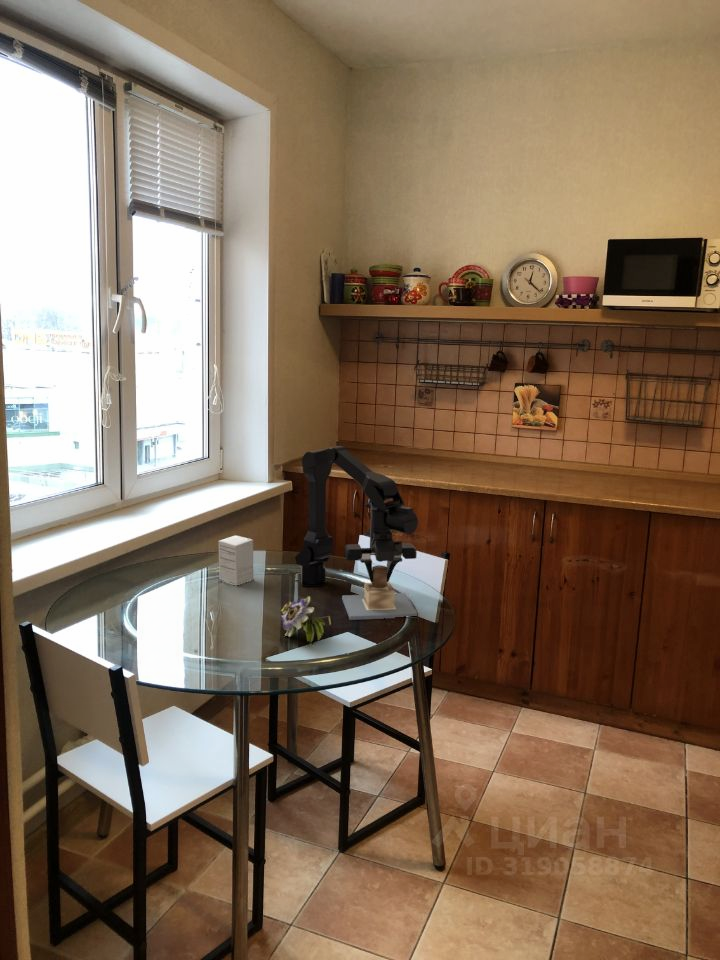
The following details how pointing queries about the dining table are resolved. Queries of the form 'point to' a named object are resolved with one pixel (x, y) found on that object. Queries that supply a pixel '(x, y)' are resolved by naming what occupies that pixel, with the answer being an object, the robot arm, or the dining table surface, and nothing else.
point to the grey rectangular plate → (360, 610)
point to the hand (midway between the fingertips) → (379, 581)
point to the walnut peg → (379, 576)
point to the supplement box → (236, 560)
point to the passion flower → (302, 619)
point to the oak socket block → (379, 596)
